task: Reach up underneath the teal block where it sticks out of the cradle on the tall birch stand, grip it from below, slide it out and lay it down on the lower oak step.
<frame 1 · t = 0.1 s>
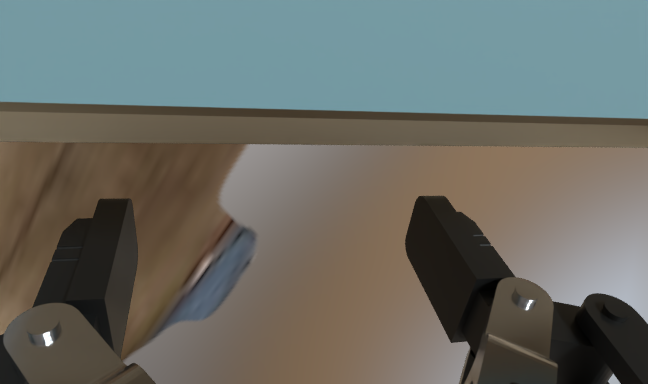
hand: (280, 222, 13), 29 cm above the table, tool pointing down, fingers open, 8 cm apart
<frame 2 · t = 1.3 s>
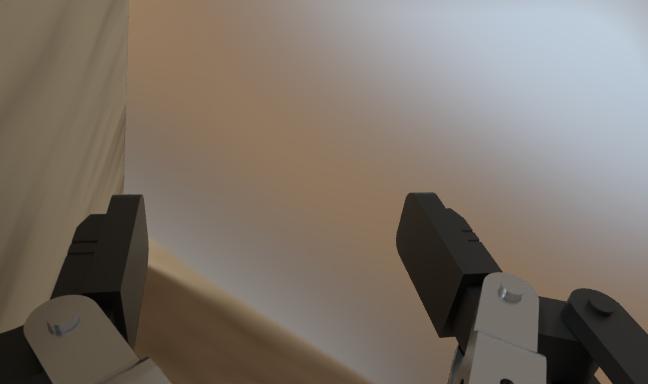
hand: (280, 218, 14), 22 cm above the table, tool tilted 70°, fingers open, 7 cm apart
birch stand: (24, 350, 29), on the table
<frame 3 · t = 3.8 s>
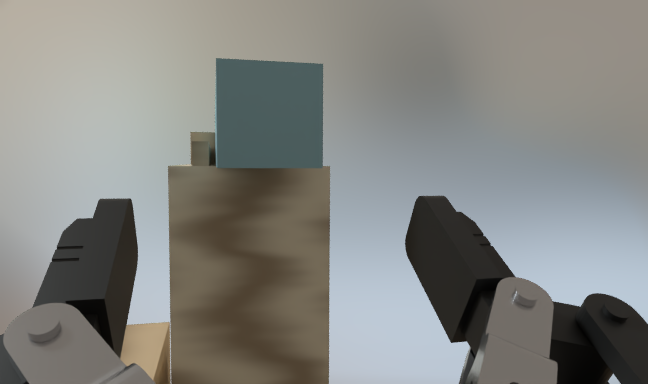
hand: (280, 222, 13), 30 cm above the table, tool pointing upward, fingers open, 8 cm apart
teal block: (248, 165, 26), point 32 cm above the table, touching birch stand
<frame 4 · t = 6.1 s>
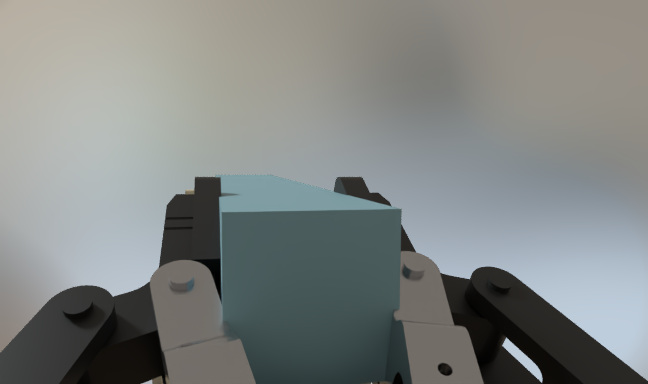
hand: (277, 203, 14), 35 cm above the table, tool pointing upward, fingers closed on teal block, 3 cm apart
teal block: (260, 266, 20), point 32 cm above the table, touching birch stand, gripper
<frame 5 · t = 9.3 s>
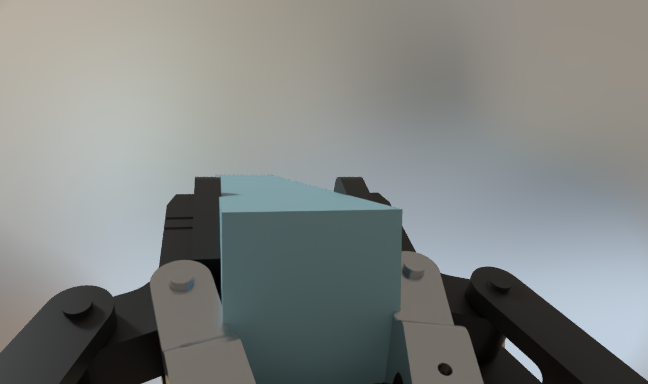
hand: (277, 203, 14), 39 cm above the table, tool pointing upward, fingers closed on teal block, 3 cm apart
teal block: (260, 266, 20), point 36 cm above the table, touching gripper
when the fingers open (26 cm above the table, at t = 12.4 s): teal block drops 2 cm, resting on oak step.
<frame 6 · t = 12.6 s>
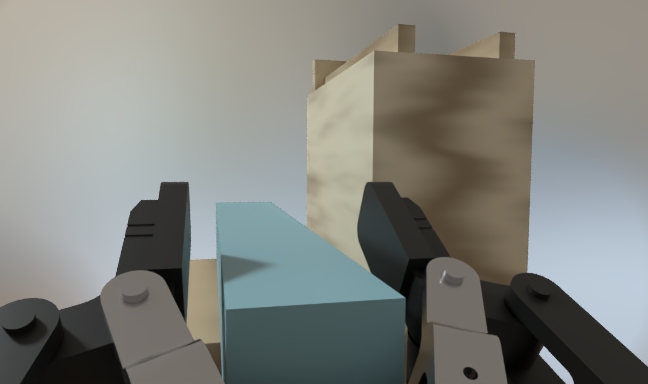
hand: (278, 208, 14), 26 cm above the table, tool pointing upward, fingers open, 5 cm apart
teal block: (261, 308, 20), point 21 cm above the table, touching oak step
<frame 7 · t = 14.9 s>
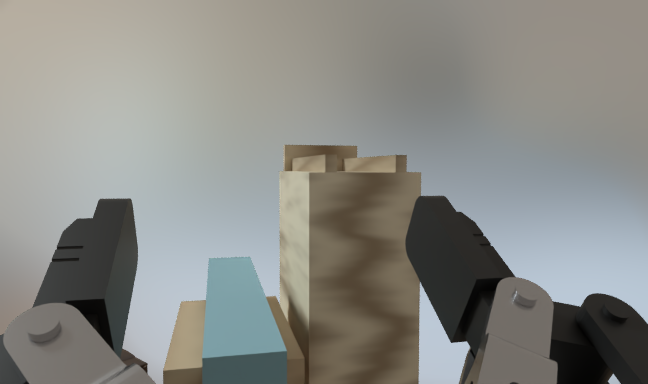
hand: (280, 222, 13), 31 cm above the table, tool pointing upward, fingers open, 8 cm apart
teal block: (235, 342, 31), point 21 cm above the table, touching oak step
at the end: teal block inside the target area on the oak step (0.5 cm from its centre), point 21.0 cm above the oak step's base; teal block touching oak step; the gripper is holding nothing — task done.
